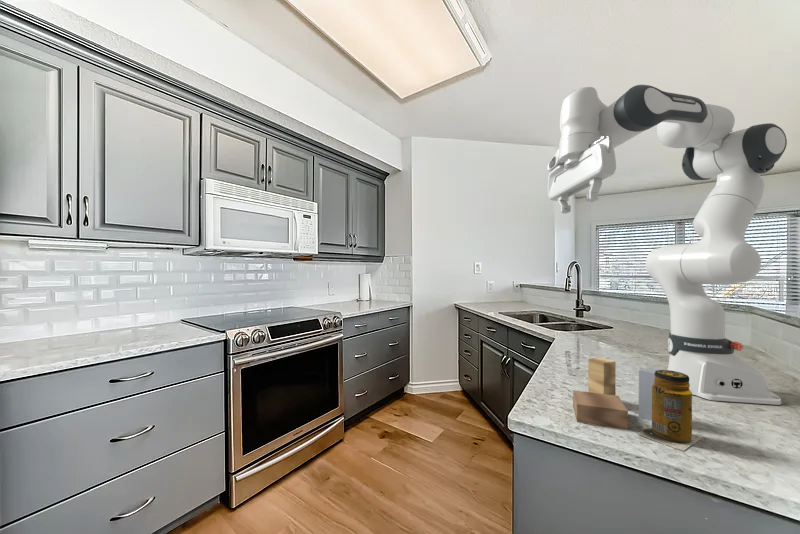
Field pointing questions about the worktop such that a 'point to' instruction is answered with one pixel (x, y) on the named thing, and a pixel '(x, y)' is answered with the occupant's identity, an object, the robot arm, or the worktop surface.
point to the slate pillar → (646, 392)
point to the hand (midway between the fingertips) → (578, 207)
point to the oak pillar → (602, 376)
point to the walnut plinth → (600, 409)
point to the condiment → (671, 410)
